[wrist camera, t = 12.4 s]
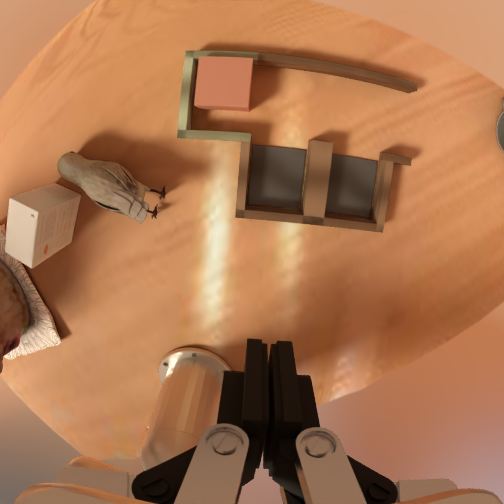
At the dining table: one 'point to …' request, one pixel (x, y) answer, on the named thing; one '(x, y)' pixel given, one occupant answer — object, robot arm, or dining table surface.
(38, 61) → the dining table surface
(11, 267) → the cookie jar
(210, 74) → the block
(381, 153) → the trap run
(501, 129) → the ceramic mug
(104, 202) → the decorative bird
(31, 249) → the small box
